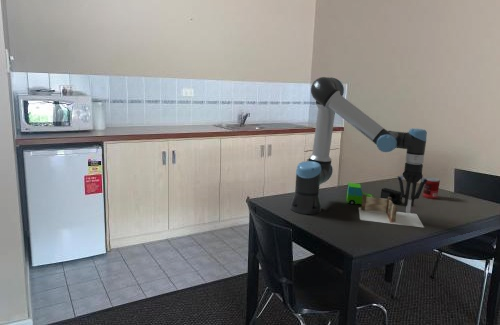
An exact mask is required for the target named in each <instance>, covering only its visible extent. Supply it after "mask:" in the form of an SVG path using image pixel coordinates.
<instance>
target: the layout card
mask: <svg viewBox="0 0 500 325" xmlns="http://www.w3.org/2000/svg"><path fill="white" fill-rule="evenodd" d="M358 213H359V220H360V221H366V222H376V223H382V224H383V223H384V224H392V225H399V226H409V227H418V228H425V226H424V225H423V223H422V221H421V220H420V218H419V216H418V214H417V213H411V212H410V213H406V212H403V211H402V212H401V211H397V212H396V220H395V222H392V221H391V217H390V216H389V214H388V213H386V212H384V211H376V210H367V209H365V210H364V211H363V210H361V206H360V207H358Z"/></svg>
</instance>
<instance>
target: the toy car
mask: <svg viewBox="0 0 500 325" xmlns="http://www.w3.org/2000/svg"><path fill="white" fill-rule="evenodd" d="M346 191H347V192H346V203H348V204H349V205H362V196H363V194H366V197H374V196H373V194H369V193H365V192H363V190H362V187H361V183H354V182H348V183H347V190H346ZM365 204H366V203H365Z"/></svg>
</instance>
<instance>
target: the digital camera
mask: <svg viewBox="0 0 500 325" xmlns="http://www.w3.org/2000/svg"><path fill="white" fill-rule="evenodd" d="M388 197H392V200H391V201H392V203H393V204H394V205H395V206H396V205H397V206H398V205H402V203H403V197H402V196H401V191H400V190H399V191H398V190H395V189H392V188H387V187H384V188H383V187H382V189H381V192H380V198H384V199H388Z"/></svg>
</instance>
